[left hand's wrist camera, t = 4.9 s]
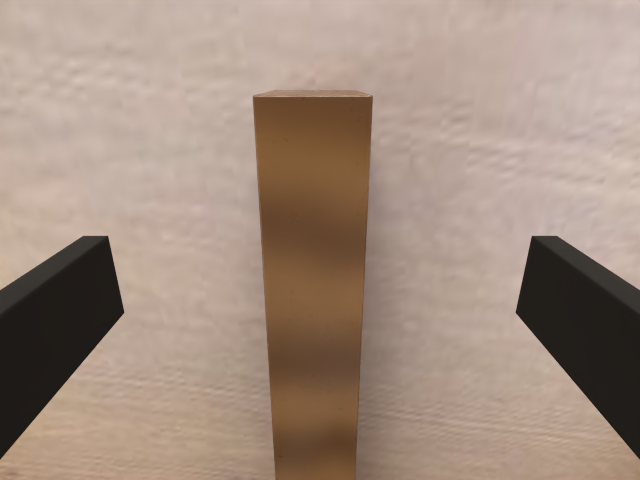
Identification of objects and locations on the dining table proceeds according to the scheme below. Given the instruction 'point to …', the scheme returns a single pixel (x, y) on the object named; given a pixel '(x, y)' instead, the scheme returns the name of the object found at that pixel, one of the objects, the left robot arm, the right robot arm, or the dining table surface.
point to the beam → (313, 272)
